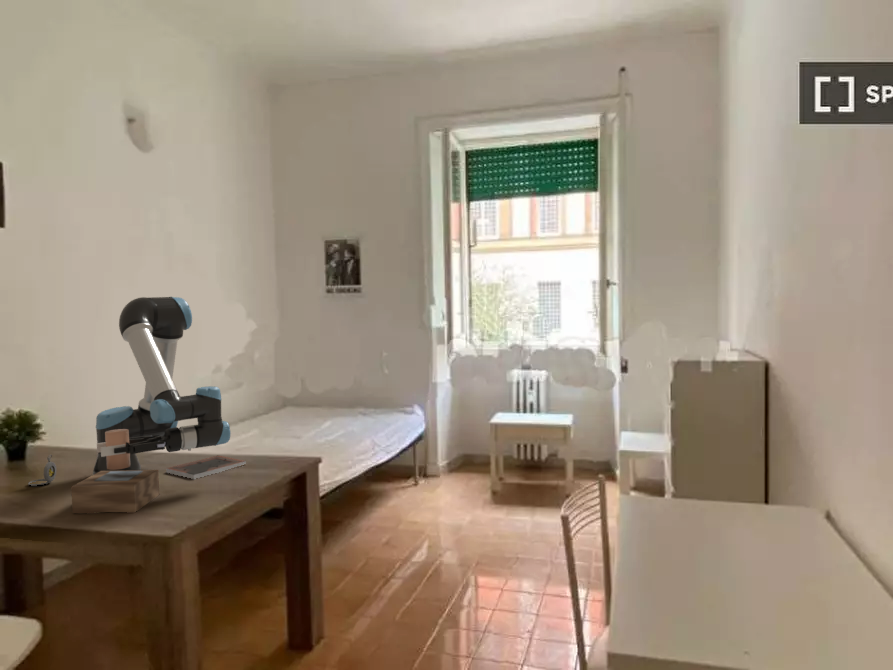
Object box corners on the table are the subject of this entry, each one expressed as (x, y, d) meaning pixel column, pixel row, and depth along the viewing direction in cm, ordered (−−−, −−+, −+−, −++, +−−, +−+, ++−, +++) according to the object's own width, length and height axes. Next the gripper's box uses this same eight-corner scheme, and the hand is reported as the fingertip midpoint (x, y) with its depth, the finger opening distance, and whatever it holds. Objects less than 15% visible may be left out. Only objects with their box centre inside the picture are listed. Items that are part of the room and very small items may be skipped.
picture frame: (194, 481, 223) (246, 467, 241) (193, 474, 223) (245, 460, 241) (166, 474, 233) (218, 461, 250) (166, 467, 232) (217, 454, 250)
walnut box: (102, 495, 206) (100, 469, 206) (159, 494, 207) (158, 468, 206) (72, 513, 189) (71, 485, 189) (135, 512, 190) (134, 484, 189)
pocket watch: (27, 484, 221) (25, 454, 221) (56, 479, 226) (54, 451, 226) (29, 489, 215) (28, 459, 214) (59, 484, 220) (57, 455, 219)
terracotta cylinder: (113, 464, 202) (111, 429, 201) (134, 464, 202) (132, 428, 201) (102, 470, 195) (100, 433, 195) (124, 469, 196) (122, 433, 195)
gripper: (188, 455, 201) (105, 468, 188) (172, 445, 217) (94, 456, 203) (187, 431, 201) (103, 442, 187) (171, 422, 216) (93, 432, 203)
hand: (99, 450), depth 195 cm, fingers closed on terracotta cylinder, 6 cm apart
